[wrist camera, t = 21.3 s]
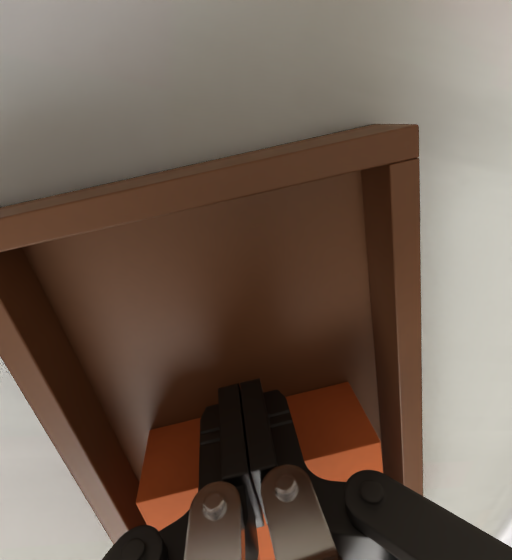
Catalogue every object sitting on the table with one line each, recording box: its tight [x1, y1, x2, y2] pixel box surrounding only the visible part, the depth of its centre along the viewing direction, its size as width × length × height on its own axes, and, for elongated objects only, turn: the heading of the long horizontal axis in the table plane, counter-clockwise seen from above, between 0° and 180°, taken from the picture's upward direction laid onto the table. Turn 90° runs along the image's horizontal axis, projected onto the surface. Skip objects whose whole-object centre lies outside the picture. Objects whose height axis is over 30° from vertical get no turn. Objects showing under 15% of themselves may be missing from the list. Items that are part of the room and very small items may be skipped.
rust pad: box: [136, 382, 383, 560], centre depth 14 cm, size 5×8×3 cm
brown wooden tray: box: [0, 124, 423, 544], centre depth 14 cm, size 21×12×3 cm, turn 11°
